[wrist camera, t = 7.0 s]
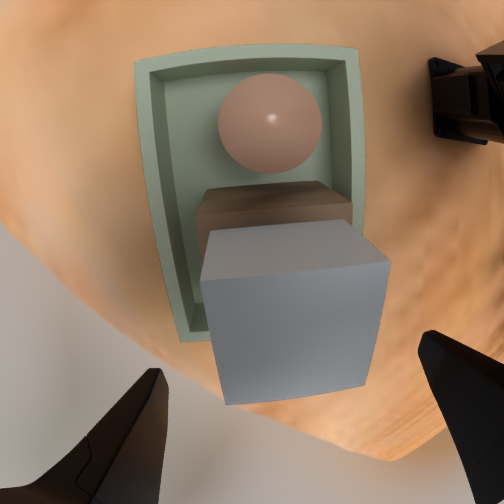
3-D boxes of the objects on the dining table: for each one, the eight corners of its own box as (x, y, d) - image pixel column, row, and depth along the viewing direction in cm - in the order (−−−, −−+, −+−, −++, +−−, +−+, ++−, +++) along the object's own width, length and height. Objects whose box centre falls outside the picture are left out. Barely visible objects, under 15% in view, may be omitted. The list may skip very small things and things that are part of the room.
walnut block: (317, 180, 18) (353, 203, 12) (317, 277, 21) (343, 327, 15) (206, 189, 18) (195, 215, 12) (220, 287, 21) (216, 342, 15)
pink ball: (281, 76, 15) (302, 61, 11) (306, 144, 17) (334, 155, 13) (208, 101, 15) (202, 94, 11) (236, 169, 17) (240, 188, 13)
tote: (333, 62, 15) (357, 48, 12) (336, 293, 22) (353, 323, 18) (153, 74, 15) (133, 61, 11) (187, 308, 22) (180, 342, 18)
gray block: (344, 219, 13) (390, 261, 9) (336, 325, 15) (364, 385, 11) (210, 230, 13) (199, 281, 8) (226, 338, 15) (225, 405, 11)
